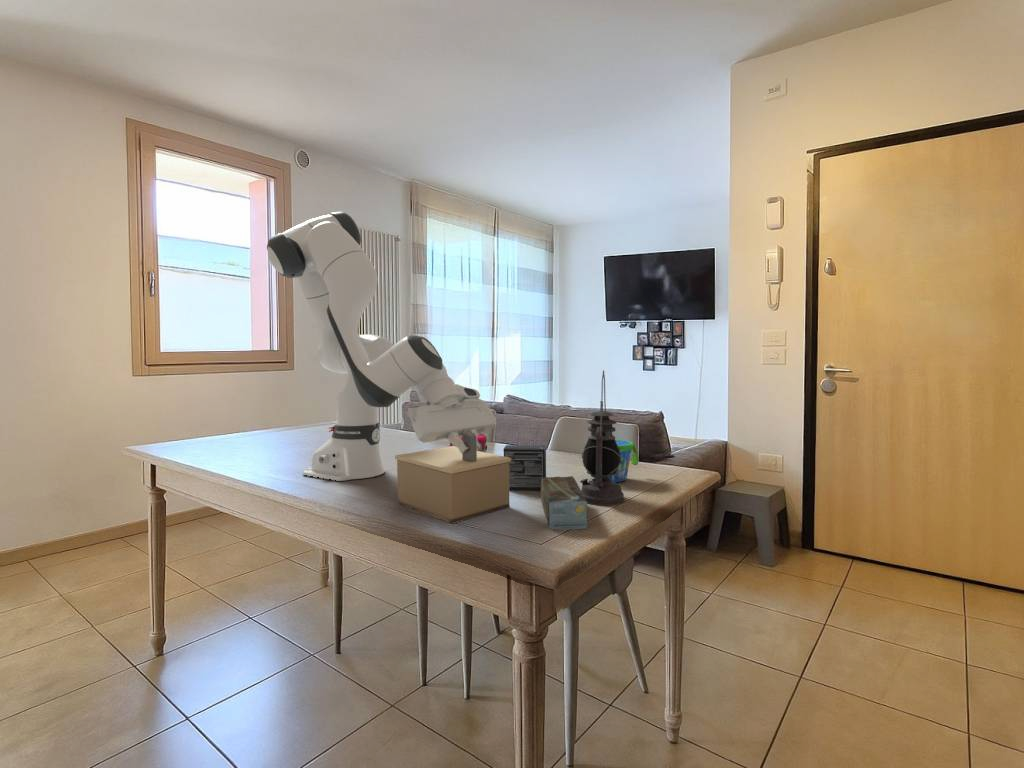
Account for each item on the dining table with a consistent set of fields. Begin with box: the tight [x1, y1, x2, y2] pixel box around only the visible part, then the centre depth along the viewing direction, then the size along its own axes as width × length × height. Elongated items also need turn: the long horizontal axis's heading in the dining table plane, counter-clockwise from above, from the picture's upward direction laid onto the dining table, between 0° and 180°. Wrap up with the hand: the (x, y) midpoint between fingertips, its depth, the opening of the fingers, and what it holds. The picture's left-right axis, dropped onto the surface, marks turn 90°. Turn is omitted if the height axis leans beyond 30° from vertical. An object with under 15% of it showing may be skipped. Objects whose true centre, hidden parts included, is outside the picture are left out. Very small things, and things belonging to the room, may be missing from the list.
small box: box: [503, 444, 547, 491], centre depth 136 cm, size 11×6×10 cm, turn 84°
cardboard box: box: [396, 459, 510, 524], centre depth 121 cm, size 20×16×10 cm
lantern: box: [579, 370, 625, 506], centre depth 125 cm, size 12×11×30 cm
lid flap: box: [394, 434, 511, 474], centre depth 120 cm, size 21×17×6 cm
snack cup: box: [608, 439, 639, 483], centre depth 143 cm, size 16×10×10 cm
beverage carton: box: [540, 475, 588, 530], centre depth 114 cm, size 8×19×7 cm, turn 1°
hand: (471, 450), depth 116 cm, fingers closed on lid flap, 2 cm apart
